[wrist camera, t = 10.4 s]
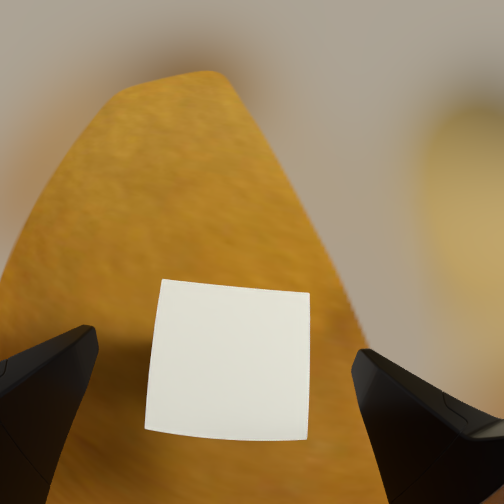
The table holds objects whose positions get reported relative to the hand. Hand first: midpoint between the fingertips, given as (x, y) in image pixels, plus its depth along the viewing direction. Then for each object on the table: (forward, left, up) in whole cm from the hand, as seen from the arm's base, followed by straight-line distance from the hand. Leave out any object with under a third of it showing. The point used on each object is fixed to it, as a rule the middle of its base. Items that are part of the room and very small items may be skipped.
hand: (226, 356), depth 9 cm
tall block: (0, 0, -8) cm, 8 cm away
